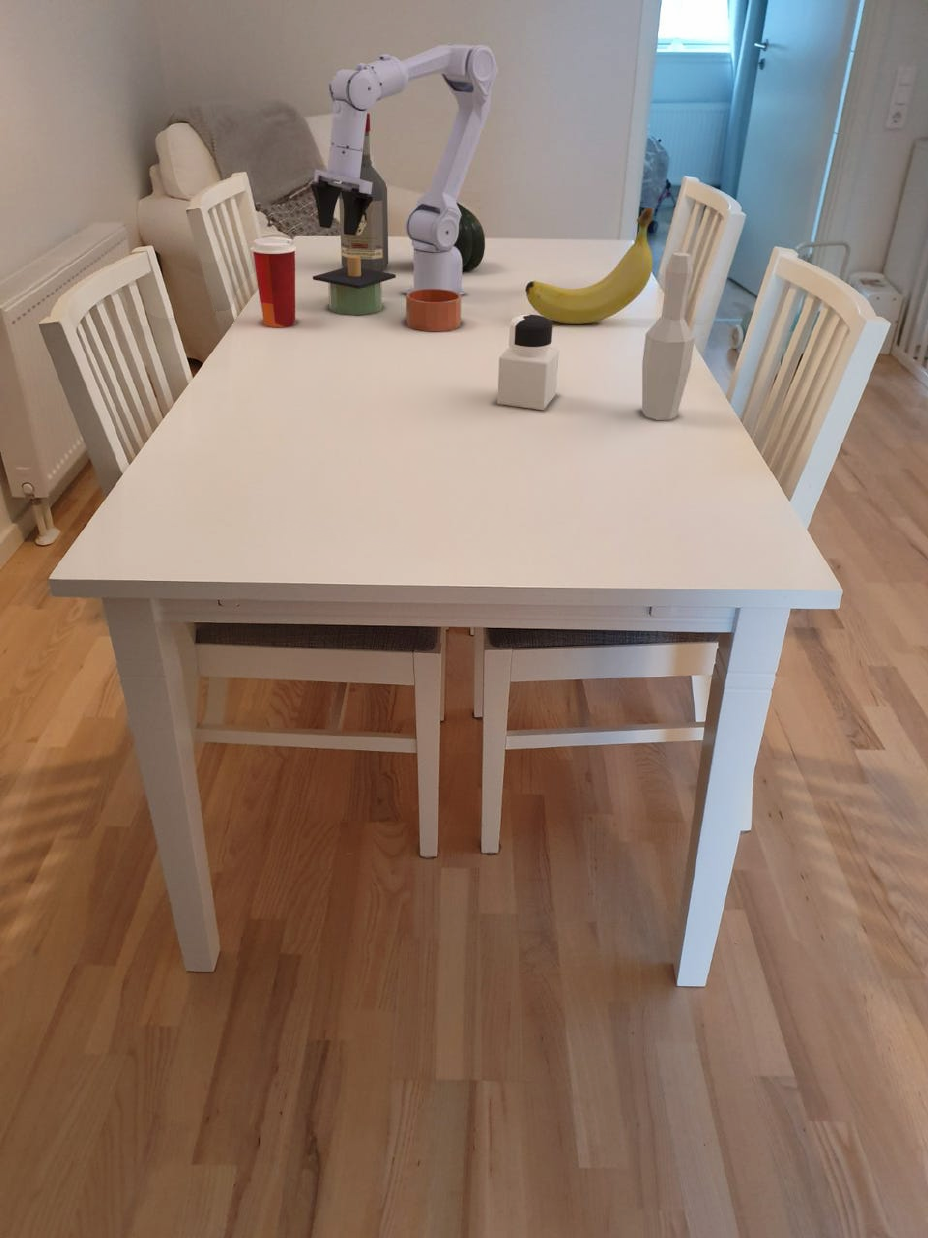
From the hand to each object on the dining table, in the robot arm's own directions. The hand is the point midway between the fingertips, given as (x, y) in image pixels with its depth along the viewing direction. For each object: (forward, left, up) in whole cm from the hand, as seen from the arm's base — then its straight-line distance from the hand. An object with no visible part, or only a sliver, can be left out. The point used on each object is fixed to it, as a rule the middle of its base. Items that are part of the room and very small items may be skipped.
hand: (337, 231), depth 172 cm
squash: (-40, -14, -14) cm, 44 cm away
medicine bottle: (+6, +56, -14) cm, 58 cm away
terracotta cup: (-9, +17, -14) cm, 24 cm away
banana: (-32, +33, -14) cm, 48 cm away
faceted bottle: (-5, +72, -14) cm, 73 cm away
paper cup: (+13, 0, -14) cm, 20 cm away
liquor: (-25, -25, -14) cm, 38 cm away
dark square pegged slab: (-4, 0, -9) cm, 9 cm away
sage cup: (-4, 0, -14) cm, 15 cm away
